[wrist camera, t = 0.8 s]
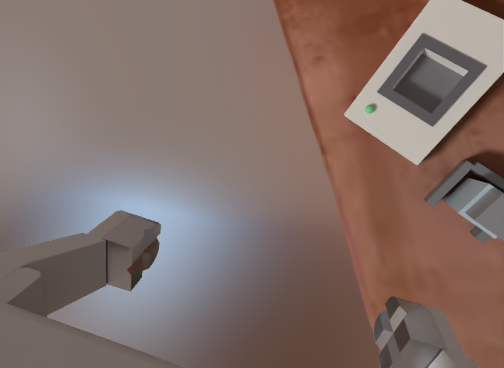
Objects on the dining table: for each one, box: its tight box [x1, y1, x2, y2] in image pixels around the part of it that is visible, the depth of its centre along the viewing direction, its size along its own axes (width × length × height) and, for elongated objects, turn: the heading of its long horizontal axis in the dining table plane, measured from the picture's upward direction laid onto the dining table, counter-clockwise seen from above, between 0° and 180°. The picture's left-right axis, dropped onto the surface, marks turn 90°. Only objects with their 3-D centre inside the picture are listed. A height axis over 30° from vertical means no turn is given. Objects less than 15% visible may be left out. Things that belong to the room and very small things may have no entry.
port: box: [344, 0, 504, 165], centre depth 37 cm, size 18×12×3 cm, turn 144°
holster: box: [424, 161, 504, 243], centre depth 36 cm, size 7×8×3 cm
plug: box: [444, 178, 504, 241], centre depth 31 cm, size 4×4×14 cm
